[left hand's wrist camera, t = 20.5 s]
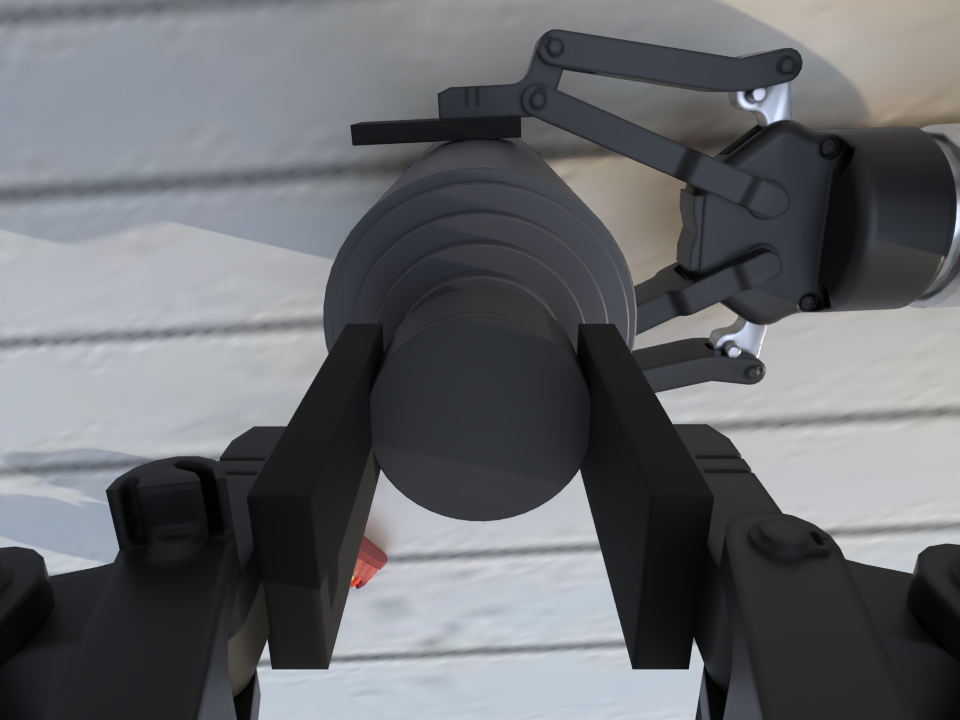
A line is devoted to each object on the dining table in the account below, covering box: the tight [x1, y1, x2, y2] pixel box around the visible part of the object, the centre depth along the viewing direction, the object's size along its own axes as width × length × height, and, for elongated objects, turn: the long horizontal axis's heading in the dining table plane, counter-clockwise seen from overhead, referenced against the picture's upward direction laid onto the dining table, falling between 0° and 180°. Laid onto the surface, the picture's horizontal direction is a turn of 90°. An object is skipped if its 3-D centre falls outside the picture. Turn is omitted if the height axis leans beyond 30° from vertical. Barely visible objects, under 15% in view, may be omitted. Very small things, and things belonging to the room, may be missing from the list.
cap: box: [370, 288, 591, 521], centre depth 14 cm, size 4×4×2 cm
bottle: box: [324, 138, 637, 355], centre depth 24 cm, size 8×8×23 cm
